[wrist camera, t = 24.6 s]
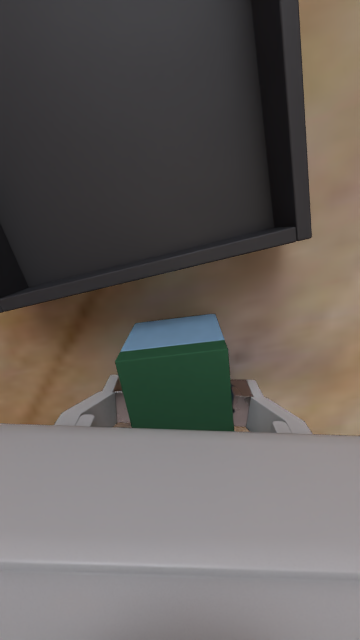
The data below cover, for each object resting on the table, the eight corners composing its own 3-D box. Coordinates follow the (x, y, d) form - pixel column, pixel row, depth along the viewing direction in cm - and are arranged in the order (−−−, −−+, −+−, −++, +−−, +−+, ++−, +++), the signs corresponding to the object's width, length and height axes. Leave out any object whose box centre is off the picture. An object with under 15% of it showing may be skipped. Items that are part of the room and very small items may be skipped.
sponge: (155, 420, 17) (145, 483, 12) (134, 322, 14) (114, 361, 10) (224, 413, 16) (238, 476, 12) (215, 313, 14) (228, 348, 10)
